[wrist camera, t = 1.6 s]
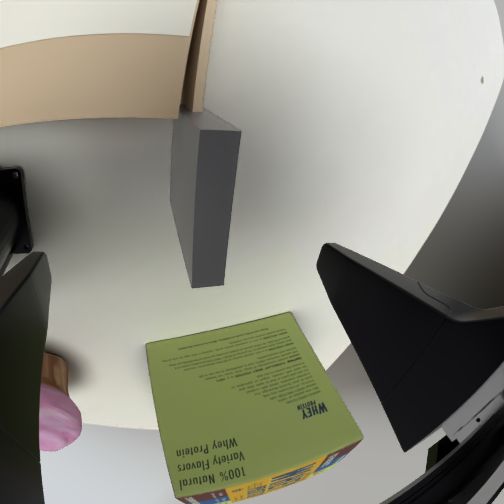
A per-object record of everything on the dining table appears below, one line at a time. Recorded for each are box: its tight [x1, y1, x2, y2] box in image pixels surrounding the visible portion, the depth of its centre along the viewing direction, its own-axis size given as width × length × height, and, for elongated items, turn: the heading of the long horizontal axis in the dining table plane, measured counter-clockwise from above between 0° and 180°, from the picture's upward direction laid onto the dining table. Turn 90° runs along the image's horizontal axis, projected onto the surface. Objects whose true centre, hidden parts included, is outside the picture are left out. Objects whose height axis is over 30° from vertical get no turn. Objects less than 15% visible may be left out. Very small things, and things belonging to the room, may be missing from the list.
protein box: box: [146, 312, 364, 504], centre depth 26 cm, size 10×15×16 cm
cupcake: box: [39, 352, 82, 451], centre depth 20 cm, size 9×9×10 cm
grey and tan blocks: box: [170, 0, 241, 288], centre depth 11 cm, size 15×1×11 cm, turn 172°
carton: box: [0, 0, 199, 127], centre depth 8 cm, size 10×14×7 cm
